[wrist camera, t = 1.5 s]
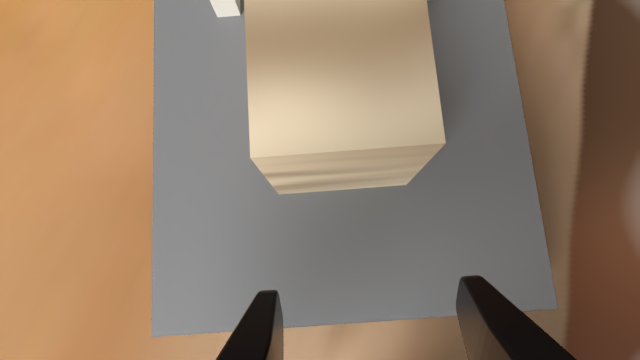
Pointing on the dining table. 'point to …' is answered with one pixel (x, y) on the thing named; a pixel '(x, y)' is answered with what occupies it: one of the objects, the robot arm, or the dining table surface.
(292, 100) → the maple block
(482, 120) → the platform
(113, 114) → the dining table surface
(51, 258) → the dining table surface
